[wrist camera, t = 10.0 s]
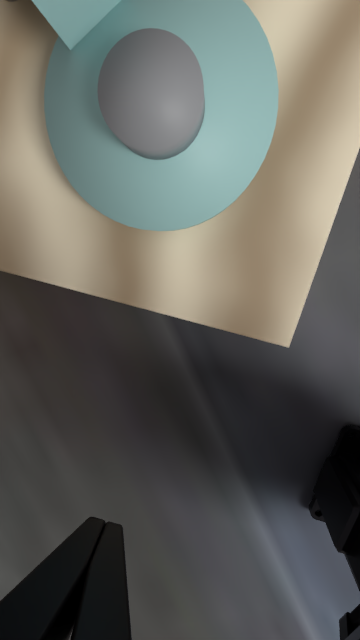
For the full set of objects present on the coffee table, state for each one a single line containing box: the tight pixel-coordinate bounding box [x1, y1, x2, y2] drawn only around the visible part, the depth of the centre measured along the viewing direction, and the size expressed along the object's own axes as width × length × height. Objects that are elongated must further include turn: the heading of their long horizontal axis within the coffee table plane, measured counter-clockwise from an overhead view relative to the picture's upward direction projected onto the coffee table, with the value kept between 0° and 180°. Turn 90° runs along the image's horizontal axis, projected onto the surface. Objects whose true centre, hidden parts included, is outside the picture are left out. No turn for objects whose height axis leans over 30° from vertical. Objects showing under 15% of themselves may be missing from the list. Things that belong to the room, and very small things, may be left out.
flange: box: [32, 0, 279, 231], centre depth 13 cm, size 16×10×5 cm, turn 36°
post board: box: [0, 0, 360, 348], centre depth 15 cm, size 18×18×5 cm
